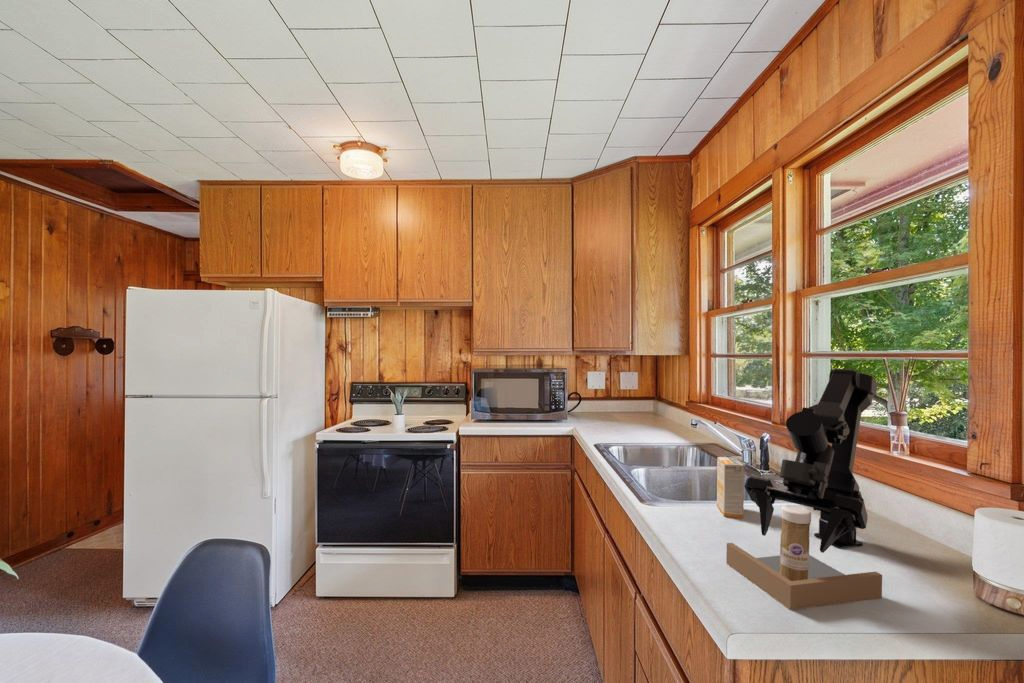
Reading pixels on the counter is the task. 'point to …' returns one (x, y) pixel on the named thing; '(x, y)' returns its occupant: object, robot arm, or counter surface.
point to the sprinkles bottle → (795, 542)
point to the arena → (805, 581)
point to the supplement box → (730, 486)
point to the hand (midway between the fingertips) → (791, 542)
